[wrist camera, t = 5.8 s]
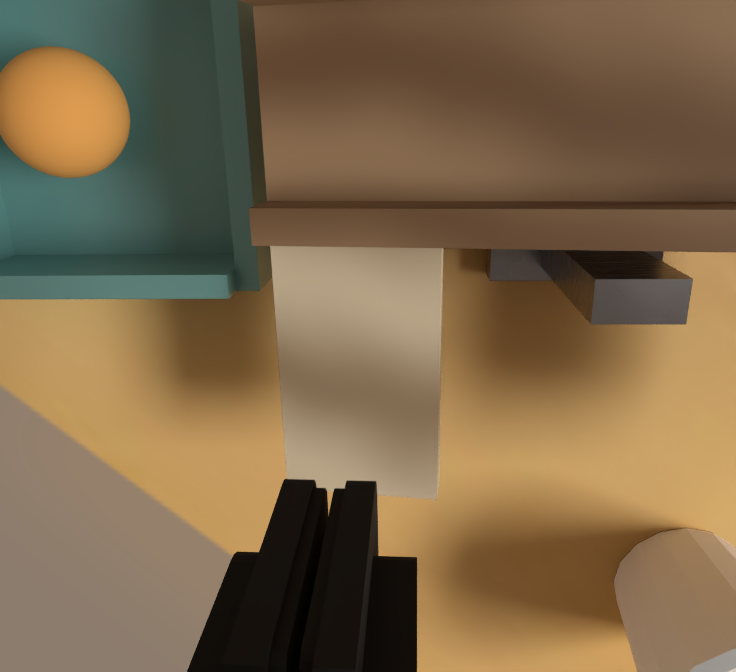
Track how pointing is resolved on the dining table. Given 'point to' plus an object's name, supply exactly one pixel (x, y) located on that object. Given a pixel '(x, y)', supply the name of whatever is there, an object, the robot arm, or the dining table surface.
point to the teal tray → (144, 158)
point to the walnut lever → (464, 184)
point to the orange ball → (62, 112)
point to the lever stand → (603, 282)
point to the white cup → (680, 602)
